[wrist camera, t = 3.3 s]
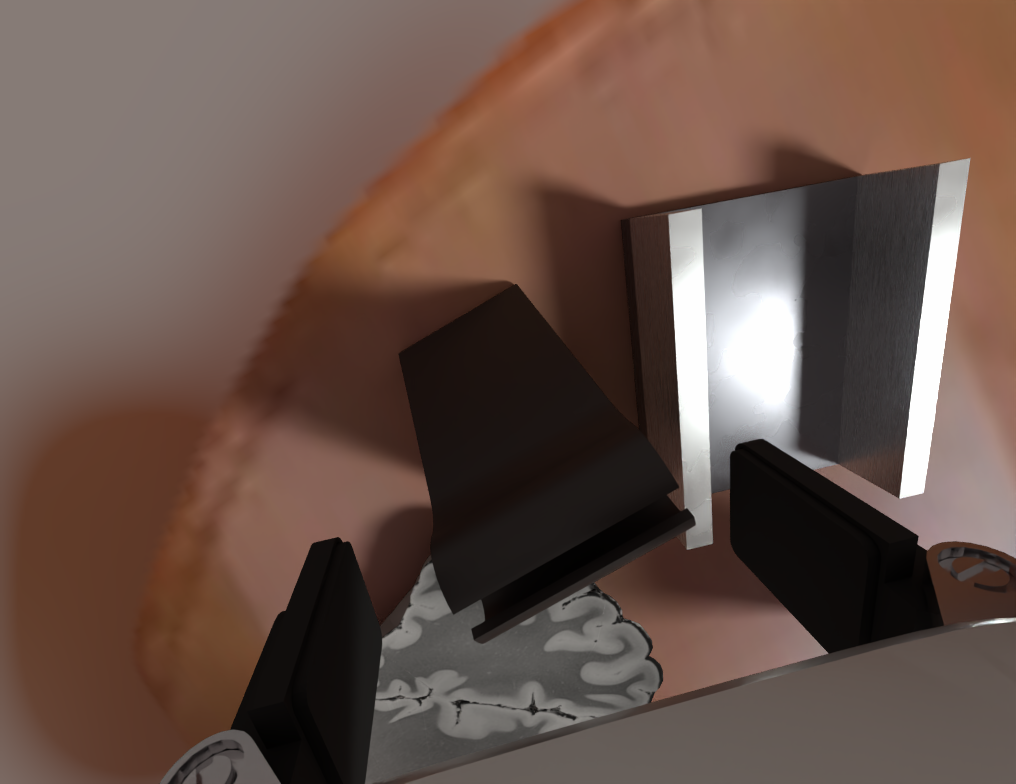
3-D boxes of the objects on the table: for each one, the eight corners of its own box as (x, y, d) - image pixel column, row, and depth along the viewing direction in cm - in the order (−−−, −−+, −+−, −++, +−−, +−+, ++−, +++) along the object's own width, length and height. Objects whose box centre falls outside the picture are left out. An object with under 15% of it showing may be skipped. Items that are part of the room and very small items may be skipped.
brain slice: (575, 785, 32) (588, 839, 29) (316, 769, 28) (302, 828, 25) (688, 544, 27) (717, 580, 24) (389, 485, 23) (382, 520, 20)
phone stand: (399, 350, 21) (347, 483, 9) (516, 282, 20) (608, 334, 9) (497, 499, 24) (549, 736, 12) (601, 441, 23) (749, 628, 12)
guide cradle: (863, 174, 21) (970, 158, 17) (843, 450, 26) (923, 492, 21) (620, 220, 20) (668, 214, 16) (645, 496, 25) (687, 549, 21)
